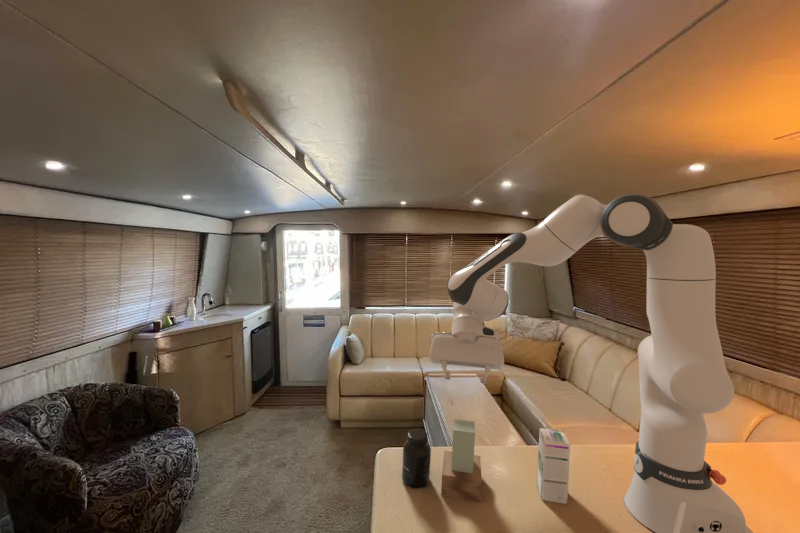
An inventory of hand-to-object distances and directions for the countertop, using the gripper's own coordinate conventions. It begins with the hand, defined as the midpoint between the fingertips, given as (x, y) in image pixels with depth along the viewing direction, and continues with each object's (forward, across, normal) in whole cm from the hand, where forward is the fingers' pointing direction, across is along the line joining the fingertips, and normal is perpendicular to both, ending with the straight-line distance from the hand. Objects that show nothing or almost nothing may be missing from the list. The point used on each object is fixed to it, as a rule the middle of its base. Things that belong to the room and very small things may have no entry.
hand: (465, 380), depth 88 cm
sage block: (+19, 0, +6) cm, 20 cm away
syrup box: (+21, +21, +11) cm, 32 cm away
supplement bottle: (+23, -11, +9) cm, 27 cm away
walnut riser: (+22, 0, +9) cm, 24 cm away
